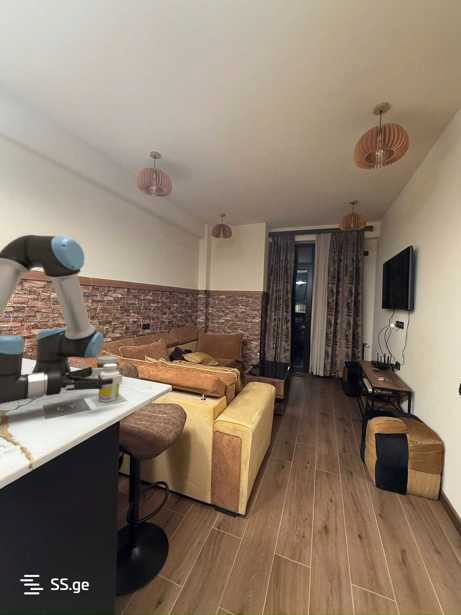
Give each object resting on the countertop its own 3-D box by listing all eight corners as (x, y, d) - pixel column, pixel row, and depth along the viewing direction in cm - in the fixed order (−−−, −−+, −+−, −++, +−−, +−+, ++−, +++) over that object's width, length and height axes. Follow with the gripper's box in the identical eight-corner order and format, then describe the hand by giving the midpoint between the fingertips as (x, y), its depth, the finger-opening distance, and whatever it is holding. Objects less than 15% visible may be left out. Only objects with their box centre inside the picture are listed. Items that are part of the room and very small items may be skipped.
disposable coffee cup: (108, 389, 99) (110, 360, 100) (89, 386, 101) (90, 358, 101) (123, 382, 109) (124, 356, 109) (105, 380, 111) (106, 354, 111)
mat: (90, 398, 89) (90, 397, 89) (118, 392, 96) (118, 392, 96) (96, 407, 82) (96, 406, 82) (126, 400, 89) (126, 400, 89)
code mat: (42, 405, 81) (42, 405, 81) (83, 398, 89) (83, 398, 89) (45, 419, 72) (45, 418, 72) (90, 409, 80) (90, 409, 80)
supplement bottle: (113, 394, 94) (115, 361, 94) (121, 399, 89) (123, 365, 89) (95, 398, 88) (97, 364, 88) (102, 404, 84) (105, 367, 84)
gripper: (41, 385, 85) (106, 376, 100) (48, 409, 67) (126, 394, 81) (42, 364, 85) (107, 358, 100) (50, 382, 67) (127, 372, 81)
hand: (116, 374), depth 90 cm, fingers open, 13 cm apart
